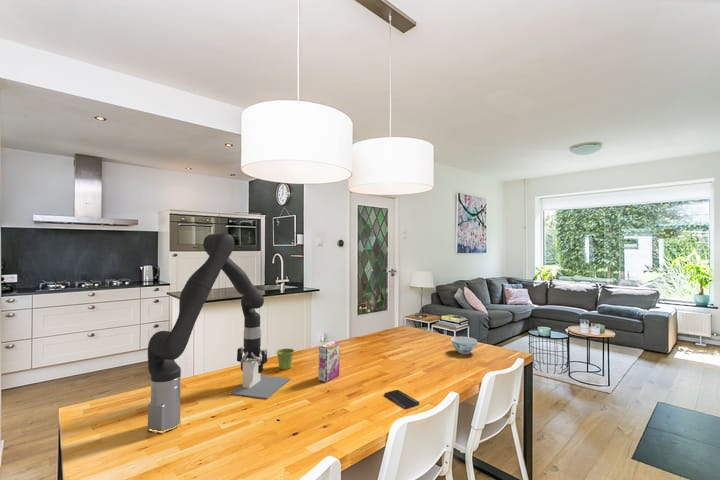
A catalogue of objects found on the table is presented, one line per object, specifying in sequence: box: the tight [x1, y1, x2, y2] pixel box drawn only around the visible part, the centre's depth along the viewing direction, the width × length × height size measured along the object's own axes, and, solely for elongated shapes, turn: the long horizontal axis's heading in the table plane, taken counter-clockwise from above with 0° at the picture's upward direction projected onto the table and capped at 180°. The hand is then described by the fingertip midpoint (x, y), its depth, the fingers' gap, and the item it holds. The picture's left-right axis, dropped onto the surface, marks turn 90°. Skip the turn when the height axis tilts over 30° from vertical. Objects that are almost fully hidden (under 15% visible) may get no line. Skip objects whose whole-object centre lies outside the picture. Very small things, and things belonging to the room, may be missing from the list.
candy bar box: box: [318, 340, 341, 383], centre depth 168 cm, size 11×5×16 cm, turn 149°
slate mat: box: [229, 374, 292, 400], centre depth 157 cm, size 22×18×1 cm
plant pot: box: [275, 348, 296, 370], centre depth 182 cm, size 9×9×9 cm
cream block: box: [241, 357, 261, 388], centre depth 159 cm, size 9×4×11 cm, turn 164°
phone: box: [383, 389, 420, 410], centre depth 145 cm, size 8×1×15 cm
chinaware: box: [450, 336, 478, 355], centre depth 209 cm, size 15×15×8 cm
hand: (251, 371), depth 159 cm, fingers open, 8 cm apart
